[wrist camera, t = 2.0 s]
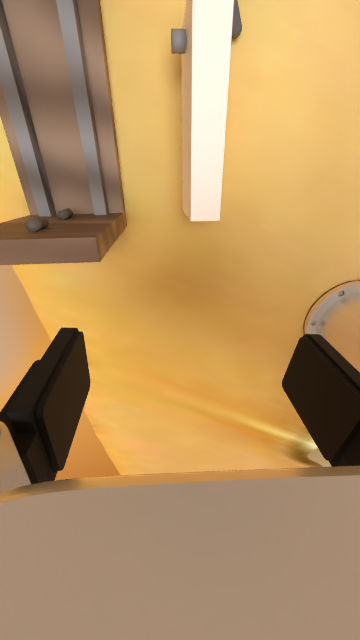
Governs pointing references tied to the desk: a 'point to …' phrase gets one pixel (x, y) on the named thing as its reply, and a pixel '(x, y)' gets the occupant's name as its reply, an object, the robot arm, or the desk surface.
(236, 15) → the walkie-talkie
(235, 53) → the desk surface
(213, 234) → the desk surface
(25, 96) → the brown wooden book rack
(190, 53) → the door panel
